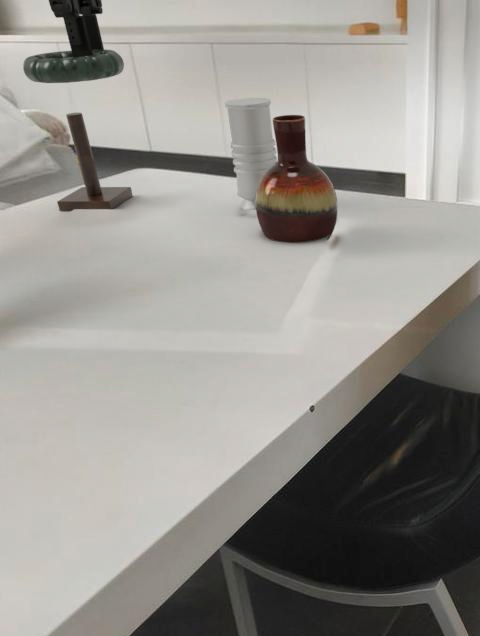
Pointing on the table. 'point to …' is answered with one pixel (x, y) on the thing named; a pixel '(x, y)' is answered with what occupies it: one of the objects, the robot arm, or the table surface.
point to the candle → (251, 144)
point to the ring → (72, 66)
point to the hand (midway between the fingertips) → (92, 69)
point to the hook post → (89, 175)
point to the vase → (295, 190)
